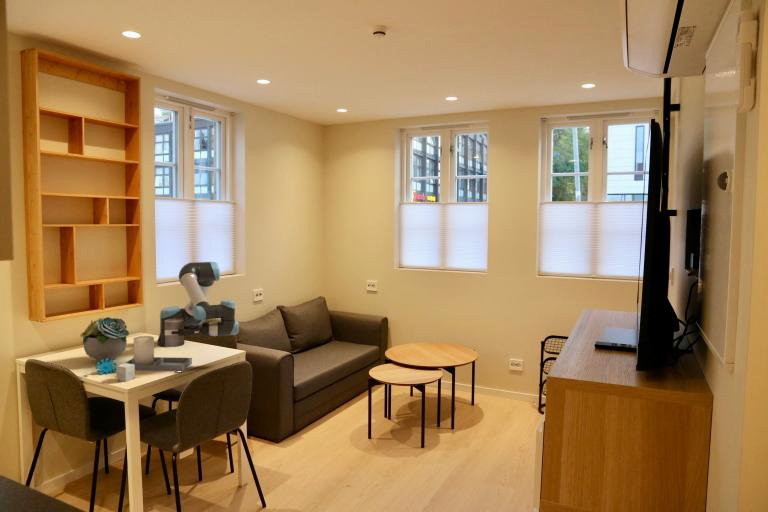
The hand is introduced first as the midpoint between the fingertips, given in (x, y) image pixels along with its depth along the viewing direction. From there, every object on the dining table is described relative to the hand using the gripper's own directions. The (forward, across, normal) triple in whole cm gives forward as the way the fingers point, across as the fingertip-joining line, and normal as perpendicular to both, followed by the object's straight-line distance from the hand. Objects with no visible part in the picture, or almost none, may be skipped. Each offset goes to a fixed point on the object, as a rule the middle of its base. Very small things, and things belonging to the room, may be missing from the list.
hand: (165, 330), depth 283 cm
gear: (+27, -6, -21) cm, 34 cm away
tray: (+4, +1, -20) cm, 21 cm away
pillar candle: (-4, 0, -8) cm, 9 cm away
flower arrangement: (+33, +21, -20) cm, 44 cm away
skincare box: (+17, -17, -21) cm, 32 cm away
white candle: (+11, +3, -19) cm, 22 cm away
